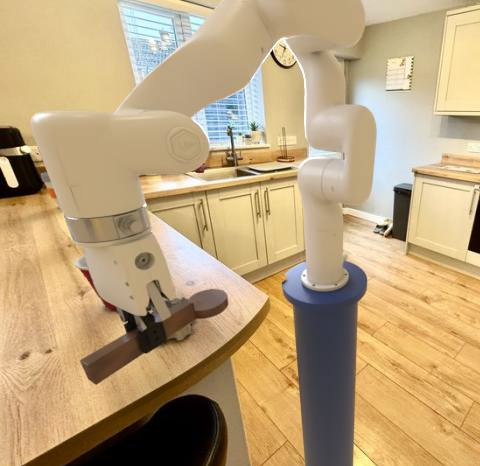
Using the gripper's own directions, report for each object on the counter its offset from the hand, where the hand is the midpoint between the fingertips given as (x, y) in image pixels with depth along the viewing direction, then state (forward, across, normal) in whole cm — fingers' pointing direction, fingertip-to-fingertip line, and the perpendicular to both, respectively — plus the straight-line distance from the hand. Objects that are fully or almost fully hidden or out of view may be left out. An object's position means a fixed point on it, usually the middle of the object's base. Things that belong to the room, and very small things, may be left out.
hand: (149, 342), depth 41 cm
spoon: (0, 0, -3) cm, 3 cm away
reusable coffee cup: (+10, +126, -41) cm, 133 cm away
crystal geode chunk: (+10, +13, -10) cm, 19 cm away
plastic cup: (+10, +30, -10) cm, 33 cm away
